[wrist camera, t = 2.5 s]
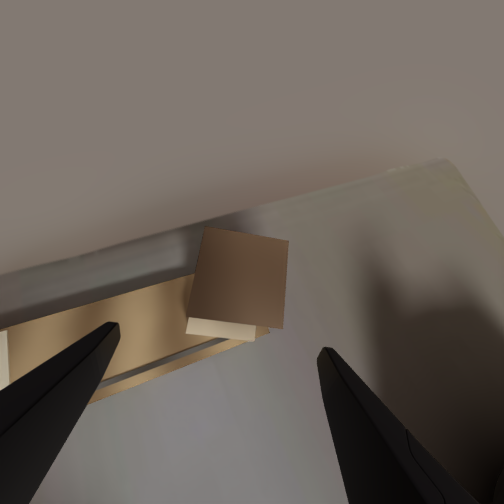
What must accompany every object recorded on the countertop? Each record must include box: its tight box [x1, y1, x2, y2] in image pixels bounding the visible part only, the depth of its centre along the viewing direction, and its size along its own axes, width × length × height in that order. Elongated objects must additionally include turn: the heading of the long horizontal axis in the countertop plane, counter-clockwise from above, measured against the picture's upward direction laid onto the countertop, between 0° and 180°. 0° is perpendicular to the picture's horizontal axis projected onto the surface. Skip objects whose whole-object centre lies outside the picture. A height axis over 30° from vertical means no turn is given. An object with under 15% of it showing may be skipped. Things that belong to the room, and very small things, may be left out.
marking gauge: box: [186, 226, 289, 341], centre depth 12 cm, size 6×5×13 cm
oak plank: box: [0, 273, 270, 405], centre depth 16 cm, size 26×7×1 cm, turn 109°
